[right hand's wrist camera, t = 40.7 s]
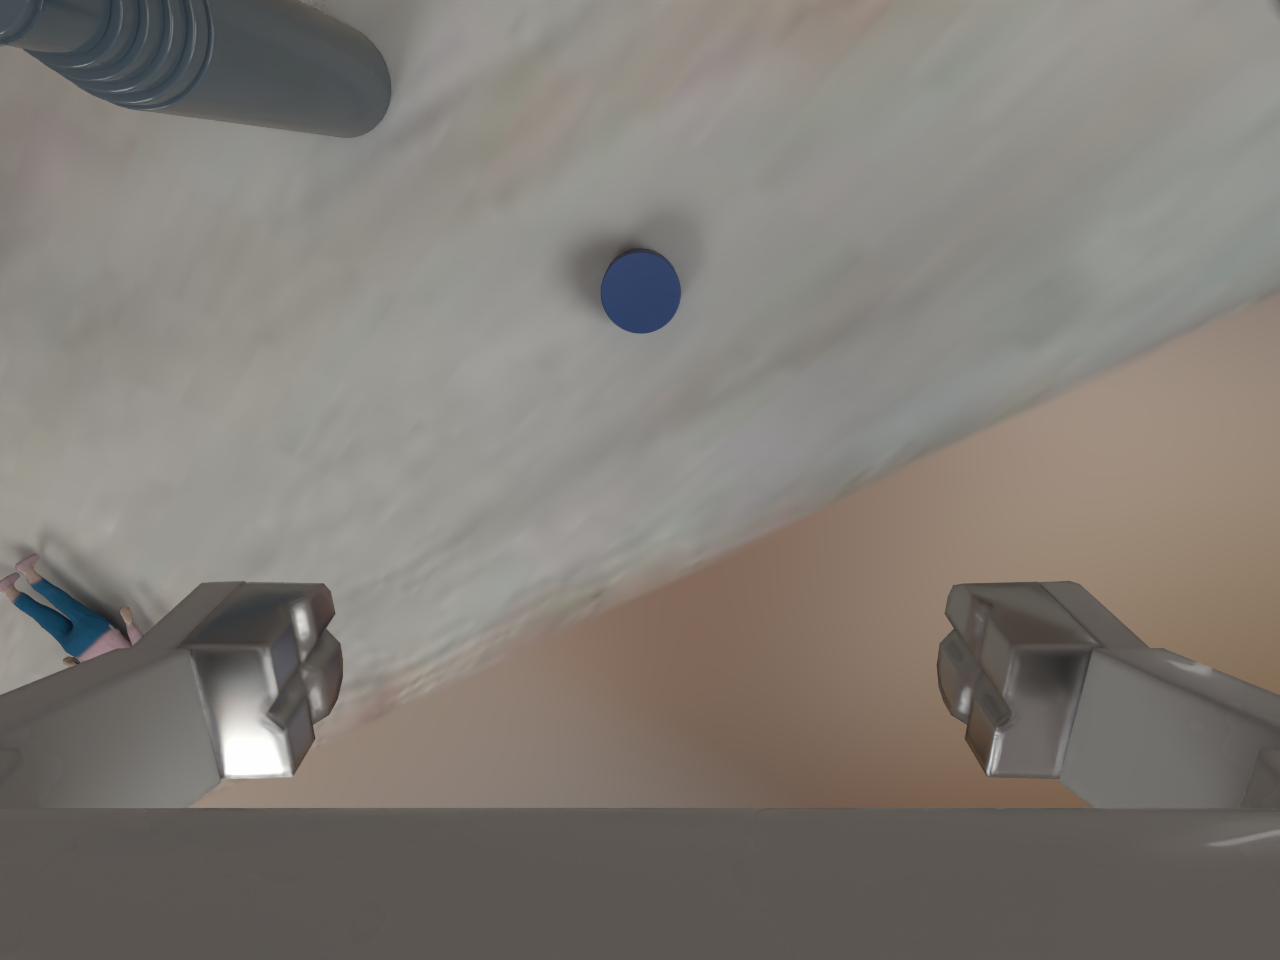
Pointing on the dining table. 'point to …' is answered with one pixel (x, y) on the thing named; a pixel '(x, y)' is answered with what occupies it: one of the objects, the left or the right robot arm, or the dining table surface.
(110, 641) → the figurine
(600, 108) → the dining table surface
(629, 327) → the cap
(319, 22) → the bottle
